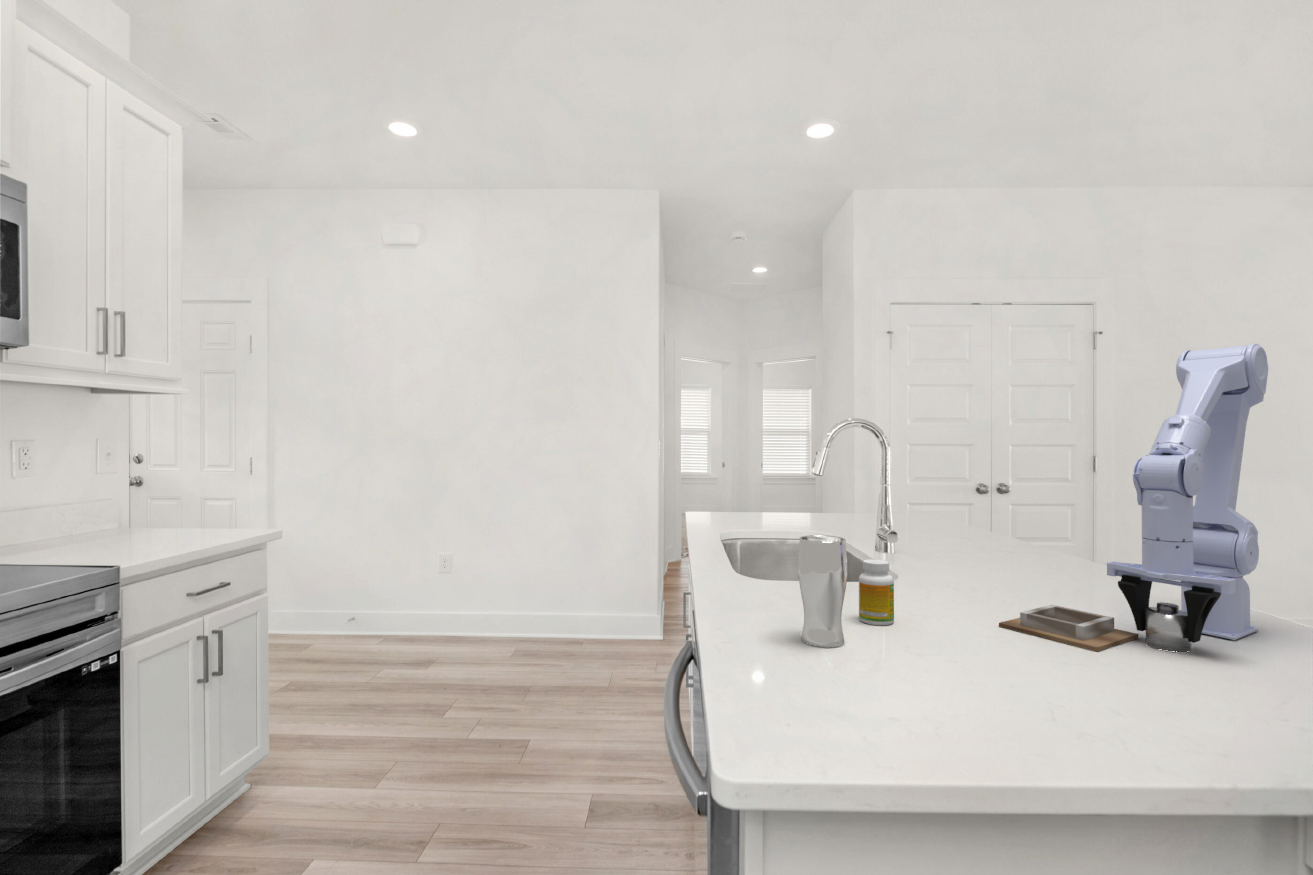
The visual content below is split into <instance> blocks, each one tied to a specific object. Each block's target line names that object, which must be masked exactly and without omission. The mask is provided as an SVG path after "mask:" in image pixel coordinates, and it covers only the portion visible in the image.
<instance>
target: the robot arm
mask: <svg viewBox="0 0 1313 875" xmlns="http://www.w3.org/2000/svg"><path fill="white" fill-rule="evenodd" d="M1266 352H1267V351H1265V349H1264V348H1263V347H1262V346H1261V345H1260V344H1258V343H1250V344H1249V345H1240V346H1239V345H1238V346H1228V347H1219V348H1210V349H1208V348H1207V349H1197V350H1184V351H1183V352H1181V354H1180V355H1179V356H1178V358H1177V360H1176V366H1175V370H1176V371H1175V373H1176V378H1177V381H1178V383H1179V385H1180V387H1181V389H1182V390H1181V394H1180V398H1179V401H1178V404H1177V405H1178V406H1177V408H1176V412H1175V415H1170V416H1168V417H1167V418H1165V419H1164V420H1163V422H1162V424H1161V426H1160V428H1159V431H1158V433H1157V435H1156V437H1155V439H1154V442H1153V444H1152V446H1151V448H1150V451H1149V453H1148V454H1145V455H1144V456H1143V457H1140V458H1138V459H1137V460H1136V462H1135V464H1134V466H1133V473H1132V481H1133V486H1134V488H1135V490H1136V502H1137V504H1138V506H1141V564H1139V563H1129V562H1121V561H1109V562H1106V575H1107V576H1109V577H1121V579H1120V580H1118V581H1117V587H1118V589H1120V591H1121V593H1122V594H1123V596H1124V598H1125V600H1126V602H1127V603H1128V606H1129V608H1130V611H1131V613H1132V616H1133V619H1134V624H1135V626H1136V627H1135V628H1136V631H1138V632H1146V626H1145V609H1146V608H1148V607H1150V597H1151V590H1152V585H1153V583H1159V584H1167V585H1173V586H1178V587H1180V588H1181V590H1180V593H1181V594H1180V596H1181V598H1180V599H1181V601H1180V604H1181V605H1180V606H1181V609H1180V610H1181V611H1185V612H1187V616H1188V625H1187V637H1188V641H1189V642H1191V643H1198V642H1200V641H1201V638H1202V634H1204V635H1208V636H1213V637H1218V638H1223V639H1227V640H1234V641H1236V640H1238V639H1240V638H1243V637H1246V636H1249V635H1251V634H1253V633H1255V632H1258V631H1259V627H1257V626H1253V625H1251V590H1250V586H1249V584H1248V582H1247V580H1246V579H1244V576H1247V575H1250V574H1251V573H1253V572H1254V571H1255V570H1256V568H1257V566H1258V563H1259V559H1260V558H1259V557H1260V548H1259V547H1260V545H1259V542H1258V539H1259V538H1258V537H1259V536H1258V535H1259V531H1258V529H1257V527H1256V526H1255V524H1254V523H1253V522H1252V521H1251V519H1250V520H1249V519H1248V518H1246V516H1244V515H1242V514H1240V513H1239V512H1238V511H1237V509H1236V508H1237V500H1238V495H1239V494H1238V493H1239V486H1240V485H1239V484H1240V477H1241V470H1242V462H1243V454H1244V453H1243V452H1244V446H1245V440H1246V439H1245V438H1246V429H1247V423H1248V419H1249V414H1250V410H1251V408H1252V407H1254V406H1256V405H1258V404H1260V403H1262V402H1264V399H1265V398H1264V397H1265V394H1266V392H1267V384H1268V376H1269V364H1268V363H1269V362H1268V357H1267V353H1266ZM1194 496H1195V501H1194Z"/></svg>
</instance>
